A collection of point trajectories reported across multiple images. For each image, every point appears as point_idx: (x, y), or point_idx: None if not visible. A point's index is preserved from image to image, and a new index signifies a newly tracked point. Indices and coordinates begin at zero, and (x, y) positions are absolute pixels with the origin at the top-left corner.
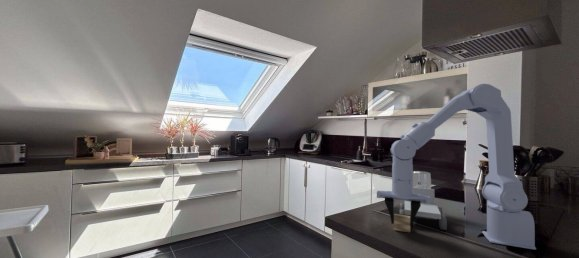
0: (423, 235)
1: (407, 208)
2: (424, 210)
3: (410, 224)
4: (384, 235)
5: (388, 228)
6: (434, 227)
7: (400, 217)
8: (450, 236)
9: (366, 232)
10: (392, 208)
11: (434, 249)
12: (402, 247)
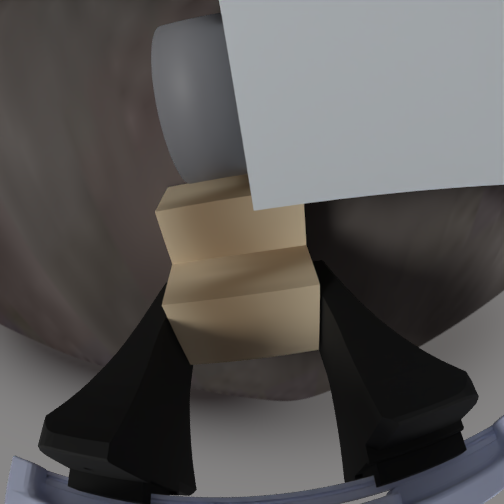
0: (370, 259)
1: (288, 113)
2: (496, 109)
3: None
4: None
5: (159, 273)
6: None
7: (242, 359)
8: (491, 192)
9: None
10: (185, 441)
11: None
12: (274, 394)
